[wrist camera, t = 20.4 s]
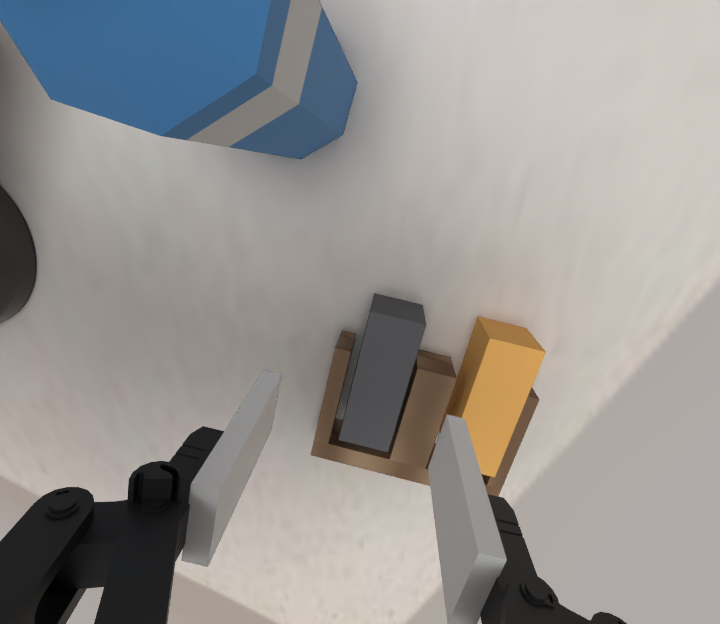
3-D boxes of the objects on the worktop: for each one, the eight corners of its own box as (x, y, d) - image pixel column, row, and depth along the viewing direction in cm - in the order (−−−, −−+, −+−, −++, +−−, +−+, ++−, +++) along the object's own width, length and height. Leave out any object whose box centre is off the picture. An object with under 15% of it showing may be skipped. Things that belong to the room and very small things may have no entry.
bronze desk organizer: (319, 428, 39) (310, 455, 35) (342, 330, 35) (335, 347, 32) (486, 472, 38) (495, 502, 35) (525, 376, 35) (539, 399, 32)
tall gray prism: (346, 406, 38) (338, 439, 33) (374, 292, 34) (370, 311, 30) (389, 417, 38) (387, 452, 33) (422, 304, 34) (425, 324, 30)
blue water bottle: (362, 152, 31) (240, 80, 7) (241, 164, 32) (-208, 134, 8) (351, 4, 28) (93, -885, 5) (218, 23, 29) (-552, -619, 6)
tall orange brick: (439, 428, 38) (444, 464, 33) (477, 315, 34) (490, 338, 29) (482, 439, 38) (494, 477, 33) (525, 327, 34) (545, 351, 29)
